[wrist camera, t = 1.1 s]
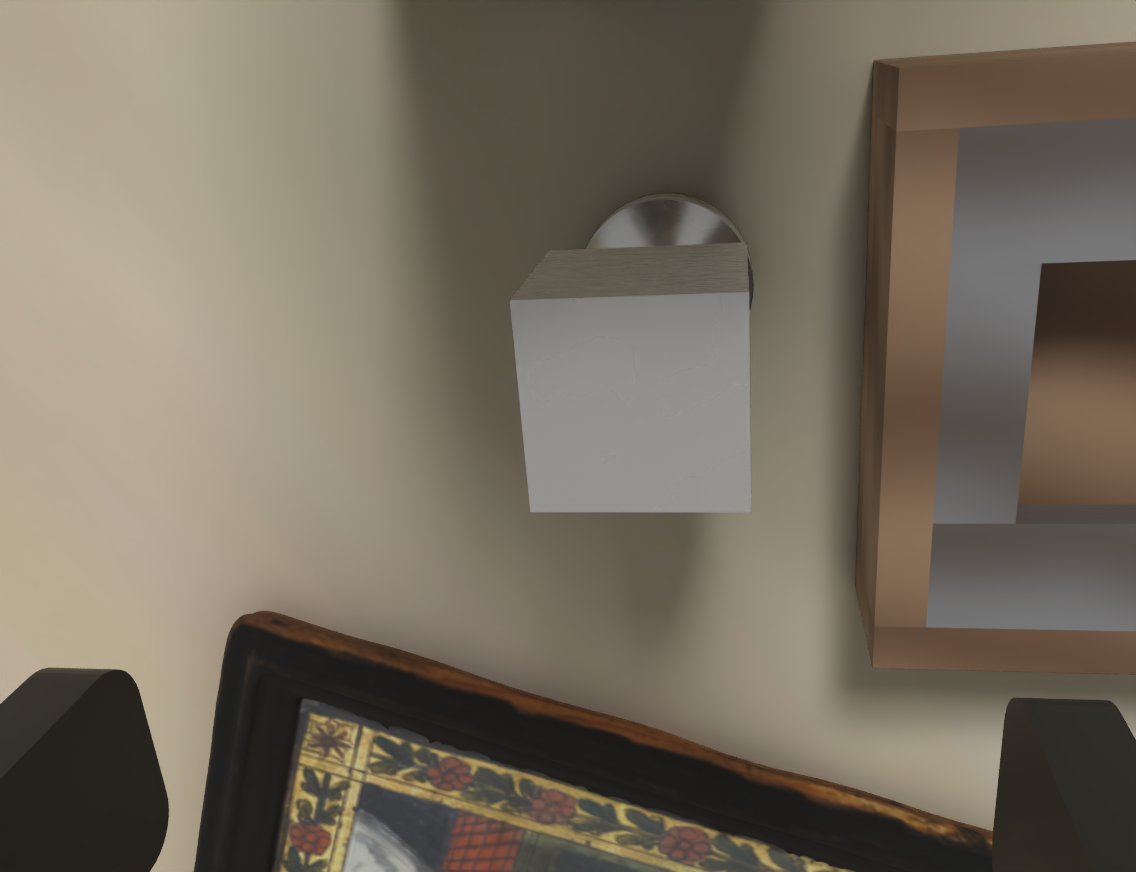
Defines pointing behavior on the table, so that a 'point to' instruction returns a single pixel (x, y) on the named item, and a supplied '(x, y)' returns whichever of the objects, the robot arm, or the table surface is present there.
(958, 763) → the table surface
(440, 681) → the framed painting
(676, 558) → the table surface
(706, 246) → the keyhole stud
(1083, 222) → the keyhole box
